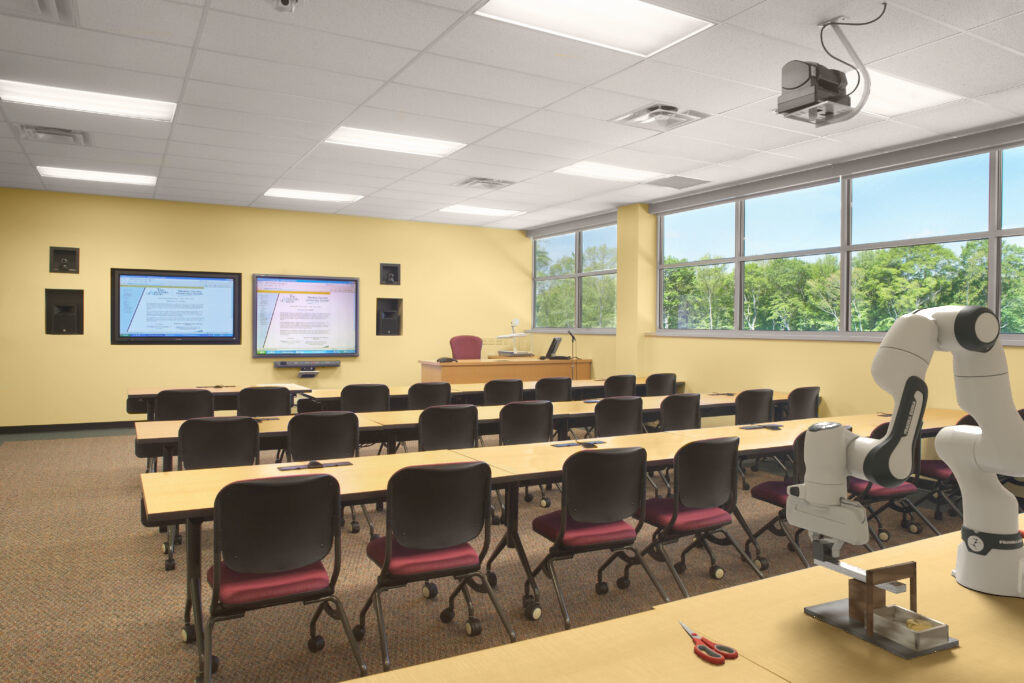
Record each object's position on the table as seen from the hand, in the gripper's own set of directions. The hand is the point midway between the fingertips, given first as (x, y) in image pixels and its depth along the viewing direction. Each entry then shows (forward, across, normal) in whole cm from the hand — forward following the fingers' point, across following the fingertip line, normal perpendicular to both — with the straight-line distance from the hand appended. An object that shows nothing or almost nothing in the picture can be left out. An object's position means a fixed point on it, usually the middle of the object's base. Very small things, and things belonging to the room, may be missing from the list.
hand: (825, 553), depth 151 cm
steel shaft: (+3, -8, 0) cm, 9 cm away
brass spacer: (+7, -22, 0) cm, 23 cm away
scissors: (+13, -2, +39) cm, 41 cm away
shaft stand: (+12, -13, 0) cm, 18 cm away
